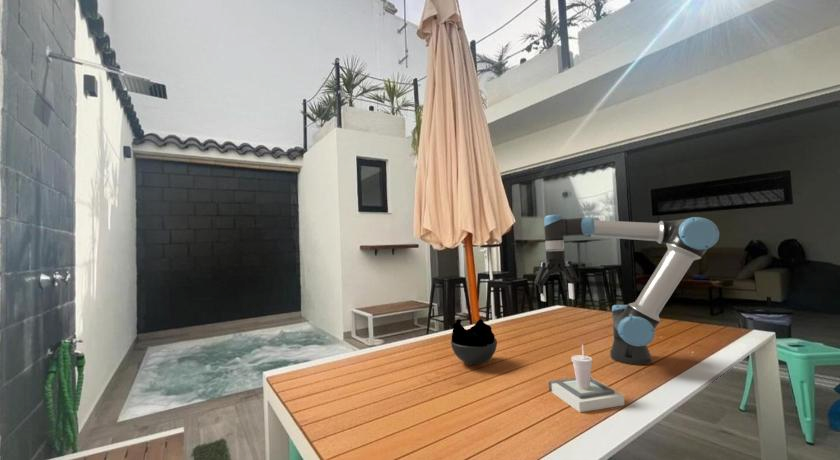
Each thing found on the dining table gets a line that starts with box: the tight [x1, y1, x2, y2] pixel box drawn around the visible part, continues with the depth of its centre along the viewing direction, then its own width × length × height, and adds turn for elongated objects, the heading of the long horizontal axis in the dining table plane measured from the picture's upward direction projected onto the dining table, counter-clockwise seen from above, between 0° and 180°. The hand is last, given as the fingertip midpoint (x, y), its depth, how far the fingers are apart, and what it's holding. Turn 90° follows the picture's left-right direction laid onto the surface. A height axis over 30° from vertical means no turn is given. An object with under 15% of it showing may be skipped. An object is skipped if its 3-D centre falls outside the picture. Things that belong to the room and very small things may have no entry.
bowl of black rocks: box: [450, 318, 498, 366], centre depth 148 cm, size 20×20×19 cm
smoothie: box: [571, 344, 593, 390], centre depth 113 cm, size 6×6×14 cm
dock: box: [548, 377, 625, 413], centre depth 112 cm, size 16×16×4 cm
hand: (557, 299), depth 145 cm, fingers open, 13 cm apart
